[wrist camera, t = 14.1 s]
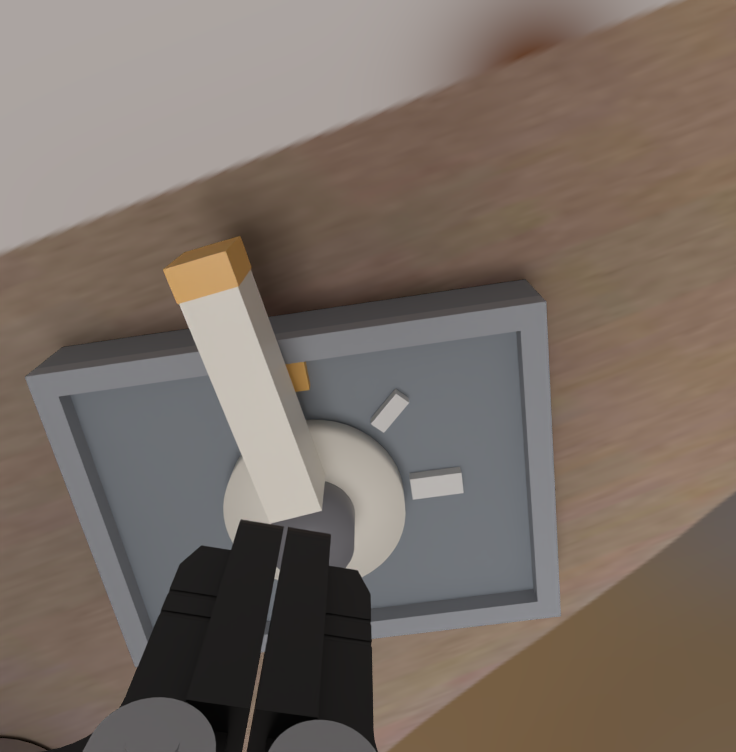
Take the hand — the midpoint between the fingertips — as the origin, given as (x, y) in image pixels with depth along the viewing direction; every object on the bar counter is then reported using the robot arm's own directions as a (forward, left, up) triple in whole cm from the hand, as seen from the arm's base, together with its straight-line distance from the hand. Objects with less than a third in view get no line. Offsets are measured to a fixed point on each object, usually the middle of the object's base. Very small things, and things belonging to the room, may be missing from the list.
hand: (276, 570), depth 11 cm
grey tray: (-11, +3, -23) cm, 26 cm away
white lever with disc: (-7, +3, -20) cm, 21 cm away
